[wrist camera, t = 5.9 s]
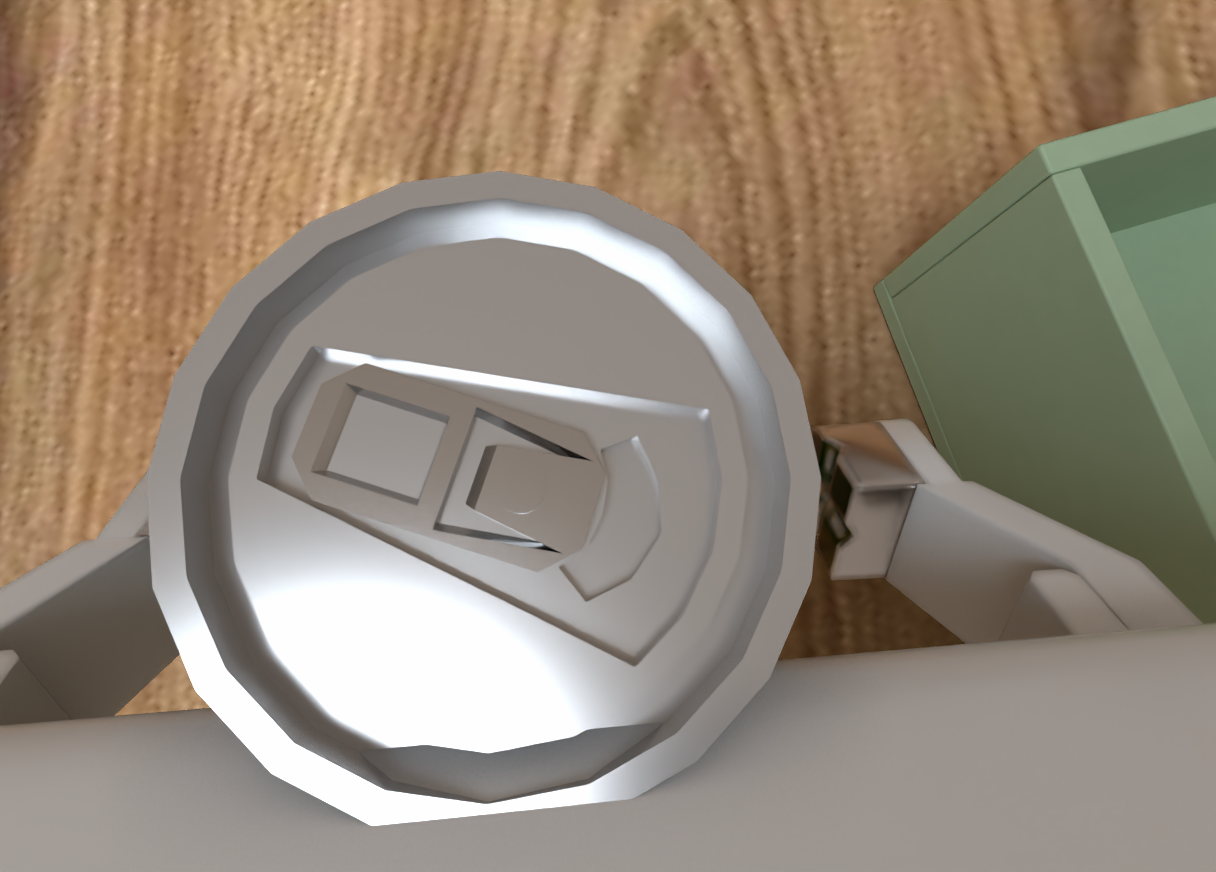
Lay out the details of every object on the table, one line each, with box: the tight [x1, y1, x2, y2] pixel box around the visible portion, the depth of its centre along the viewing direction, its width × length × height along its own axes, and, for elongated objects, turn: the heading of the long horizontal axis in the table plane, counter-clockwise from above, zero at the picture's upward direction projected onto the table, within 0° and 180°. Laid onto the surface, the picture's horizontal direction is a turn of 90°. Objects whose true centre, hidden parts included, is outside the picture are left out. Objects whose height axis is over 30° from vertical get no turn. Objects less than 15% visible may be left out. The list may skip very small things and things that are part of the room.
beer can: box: [146, 171, 821, 826], centre depth 11 cm, size 5×5×12 cm
